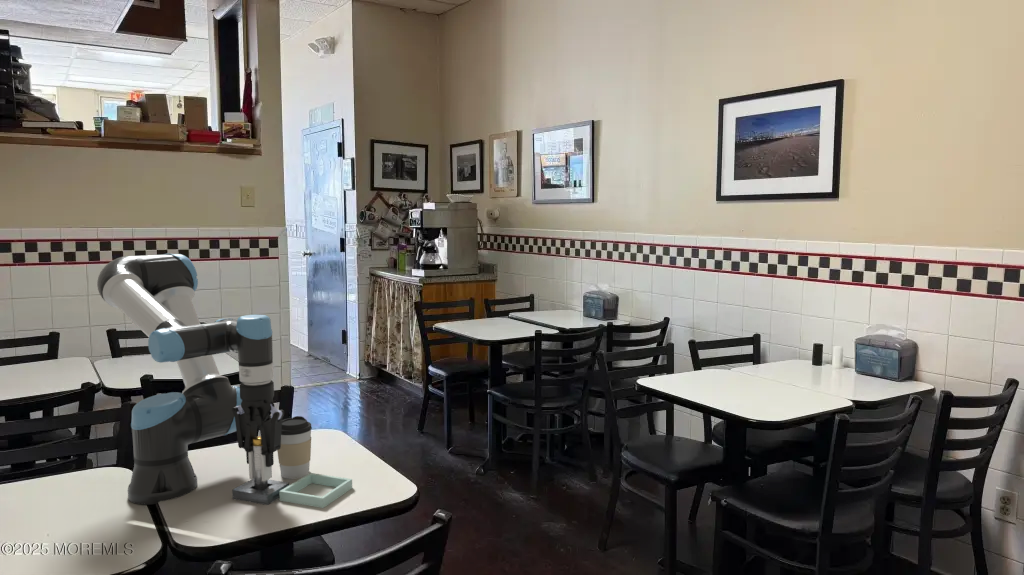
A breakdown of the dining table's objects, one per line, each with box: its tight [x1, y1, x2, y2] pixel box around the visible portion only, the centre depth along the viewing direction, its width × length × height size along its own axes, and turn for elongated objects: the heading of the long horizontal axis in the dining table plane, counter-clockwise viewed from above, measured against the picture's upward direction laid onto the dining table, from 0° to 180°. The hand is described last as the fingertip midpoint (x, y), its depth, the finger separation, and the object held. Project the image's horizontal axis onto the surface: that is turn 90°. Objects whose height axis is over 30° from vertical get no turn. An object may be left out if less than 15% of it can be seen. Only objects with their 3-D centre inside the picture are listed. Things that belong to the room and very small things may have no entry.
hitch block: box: [231, 479, 291, 506], centre depth 163 cm, size 10×8×3 cm
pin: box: [252, 435, 268, 490], centre depth 162 cm, size 3×3×14 cm
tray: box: [279, 472, 353, 509], centre depth 164 cm, size 12×12×3 cm
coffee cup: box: [276, 415, 313, 480], centre depth 176 cm, size 9×9×15 cm
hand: (260, 477), depth 163 cm, fingers closed on pin, 3 cm apart
